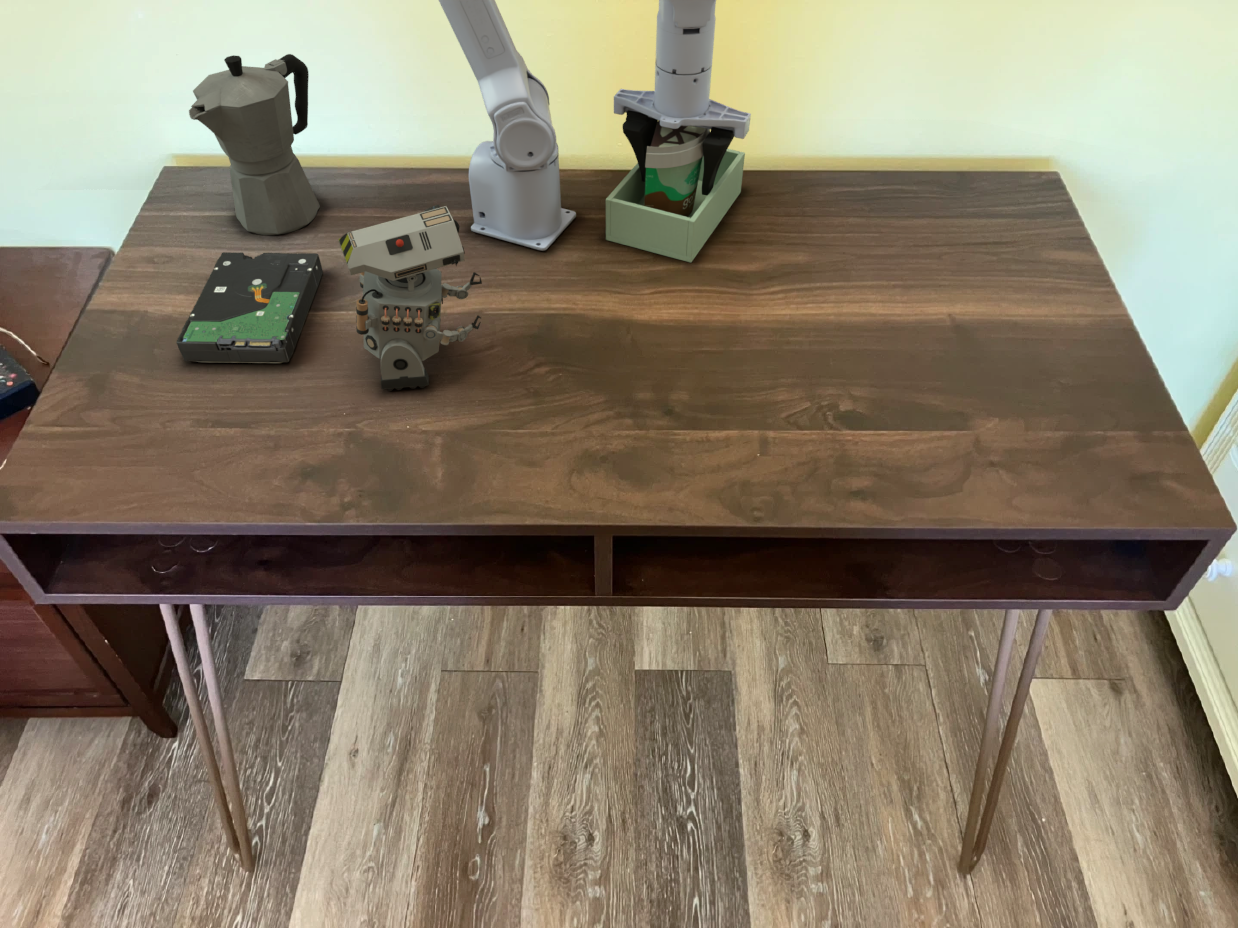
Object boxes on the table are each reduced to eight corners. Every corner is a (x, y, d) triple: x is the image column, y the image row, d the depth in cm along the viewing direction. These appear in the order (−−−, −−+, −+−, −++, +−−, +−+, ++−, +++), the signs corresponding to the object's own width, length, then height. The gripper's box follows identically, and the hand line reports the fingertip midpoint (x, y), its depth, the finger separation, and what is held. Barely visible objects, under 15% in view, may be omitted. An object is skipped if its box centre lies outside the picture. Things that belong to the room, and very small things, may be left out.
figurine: (490, 383, 88) (472, 247, 77) (365, 394, 86) (329, 257, 75) (486, 323, 94) (470, 188, 83) (370, 332, 93) (337, 197, 82)
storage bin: (605, 239, 104) (605, 199, 100) (661, 172, 113) (663, 133, 110) (691, 262, 101) (694, 221, 97) (740, 192, 110) (745, 152, 107)
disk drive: (227, 274, 99) (183, 365, 89) (219, 251, 97) (173, 341, 87) (325, 274, 99) (292, 364, 89) (319, 251, 97) (284, 341, 87)
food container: (696, 240, 102) (706, 156, 94) (641, 233, 102) (646, 149, 95) (709, 182, 110) (719, 100, 103) (657, 175, 111) (663, 93, 103)
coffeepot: (265, 254, 101) (213, 93, 88) (205, 229, 105) (146, 70, 92) (362, 190, 110) (328, 35, 97) (304, 168, 114) (263, 15, 101)
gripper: (601, 66, 93) (603, 188, 103) (741, 92, 90) (728, 216, 100) (628, 38, 98) (626, 158, 108) (761, 62, 94) (747, 183, 104)
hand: (677, 184), depth 104 cm, fingers closed on food container, 6 cm apart
